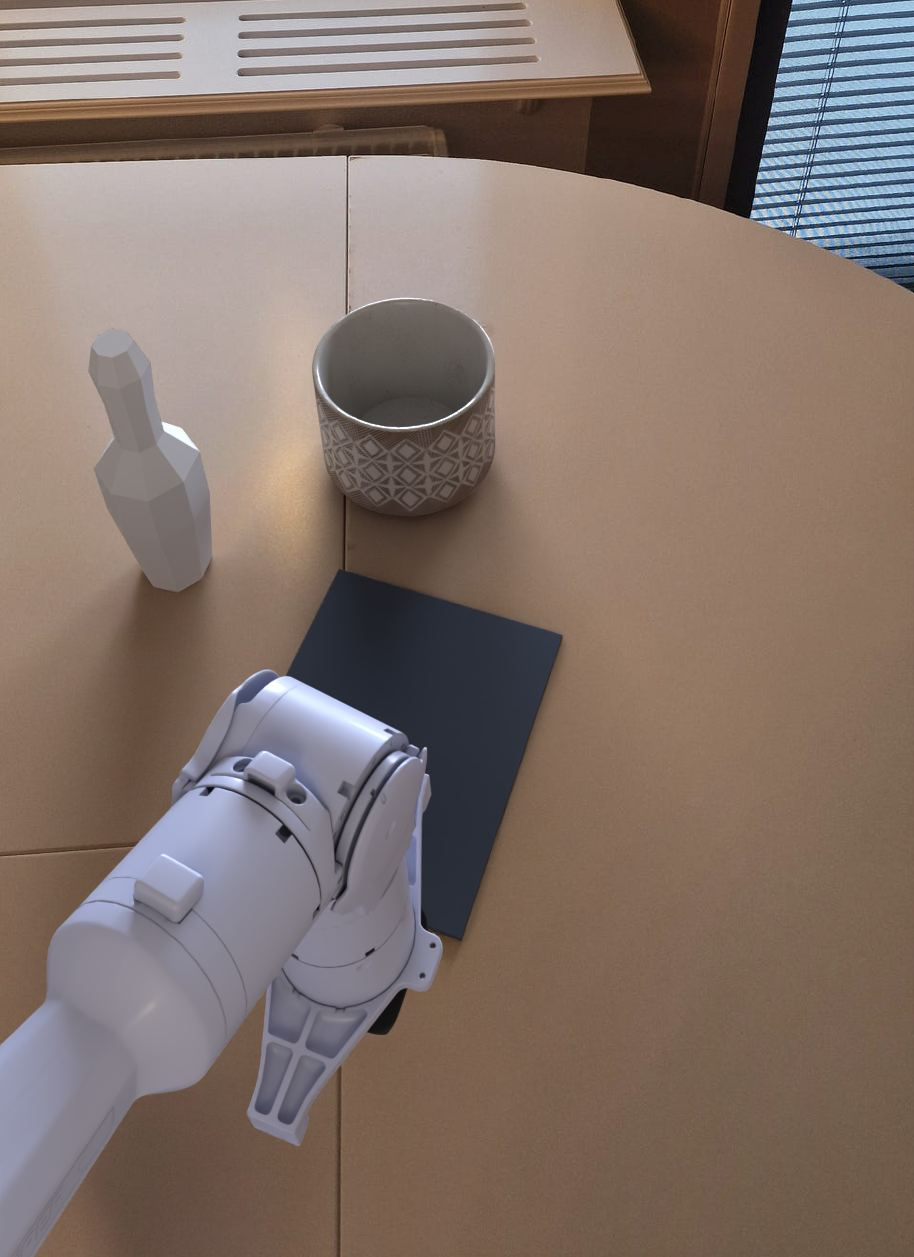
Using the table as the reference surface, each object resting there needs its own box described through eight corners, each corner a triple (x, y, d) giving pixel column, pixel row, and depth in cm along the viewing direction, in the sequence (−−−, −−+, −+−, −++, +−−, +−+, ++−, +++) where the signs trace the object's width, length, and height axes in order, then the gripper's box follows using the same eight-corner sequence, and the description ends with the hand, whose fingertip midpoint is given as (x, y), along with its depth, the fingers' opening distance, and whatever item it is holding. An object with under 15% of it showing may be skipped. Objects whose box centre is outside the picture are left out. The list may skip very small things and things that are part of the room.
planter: (497, 524, 92) (497, 429, 84) (319, 527, 92) (304, 432, 85) (492, 391, 101) (492, 295, 94) (331, 394, 101) (318, 299, 94)
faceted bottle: (241, 551, 90) (190, 331, 75) (179, 618, 87) (111, 399, 72) (175, 511, 93) (112, 290, 78) (111, 573, 89) (33, 354, 74)
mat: (461, 942, 71) (461, 939, 71) (202, 846, 75) (202, 843, 75) (562, 638, 85) (562, 634, 85) (339, 571, 89) (338, 568, 89)
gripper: (358, 1136, 44) (386, 1218, 54) (492, 750, 54) (496, 877, 63) (175, 1060, 46) (234, 1152, 55) (337, 699, 56) (363, 831, 65)
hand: (364, 1002), depth 59 cm, fingers closed
